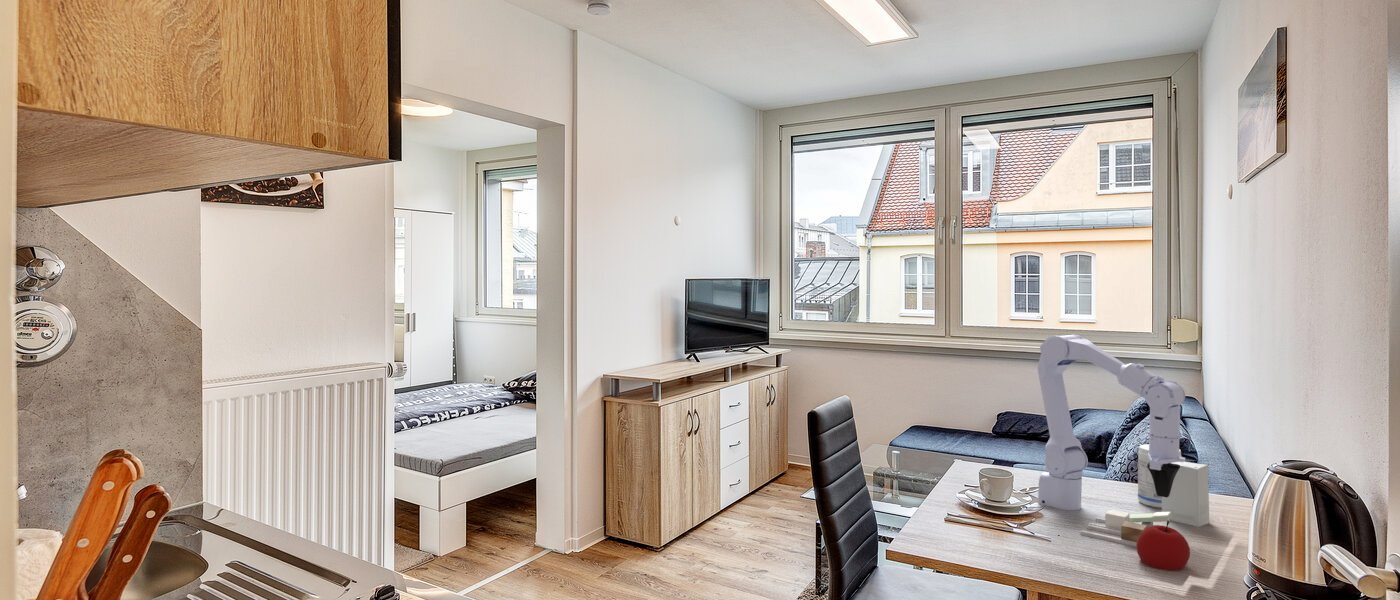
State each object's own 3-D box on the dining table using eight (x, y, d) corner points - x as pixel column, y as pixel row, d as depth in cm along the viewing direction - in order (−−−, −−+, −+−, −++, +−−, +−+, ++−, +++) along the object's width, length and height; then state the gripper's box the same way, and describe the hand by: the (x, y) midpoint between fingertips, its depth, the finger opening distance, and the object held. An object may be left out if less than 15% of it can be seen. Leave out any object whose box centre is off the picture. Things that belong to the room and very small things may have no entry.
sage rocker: (1124, 522, 168) (1122, 517, 169) (1128, 518, 171) (1127, 513, 172) (1168, 521, 162) (1167, 515, 163) (1172, 517, 165) (1170, 511, 166)
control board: (1064, 537, 164) (1064, 524, 164) (1092, 515, 180) (1092, 503, 180) (1168, 561, 151) (1168, 547, 151) (1188, 534, 167) (1188, 522, 167)
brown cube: (1121, 541, 158) (1121, 525, 158) (1125, 536, 161) (1126, 521, 161) (1142, 546, 156) (1142, 530, 155) (1146, 541, 158) (1146, 525, 158)
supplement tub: (1159, 497, 195) (1160, 443, 195) (1190, 508, 186) (1191, 451, 186) (1128, 499, 193) (1129, 444, 193) (1158, 510, 184) (1159, 452, 184)
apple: (1135, 558, 152) (1136, 510, 152) (1187, 566, 148) (1188, 518, 148) (1136, 573, 144) (1137, 523, 144) (1191, 583, 140) (1192, 531, 140)
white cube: (1105, 528, 167) (1105, 513, 167) (1109, 524, 170) (1110, 509, 170) (1124, 532, 164) (1125, 517, 164) (1129, 528, 167) (1129, 513, 167)
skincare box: (1209, 528, 171) (1211, 465, 171) (1197, 532, 168) (1199, 468, 168) (1170, 518, 178) (1172, 457, 178) (1158, 522, 175) (1160, 460, 175)
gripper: (1176, 443, 156) (1175, 506, 156) (1193, 434, 166) (1191, 493, 167) (1139, 438, 161) (1138, 499, 161) (1157, 429, 171) (1156, 487, 172)
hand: (1162, 496), depth 164 cm, fingers closed
